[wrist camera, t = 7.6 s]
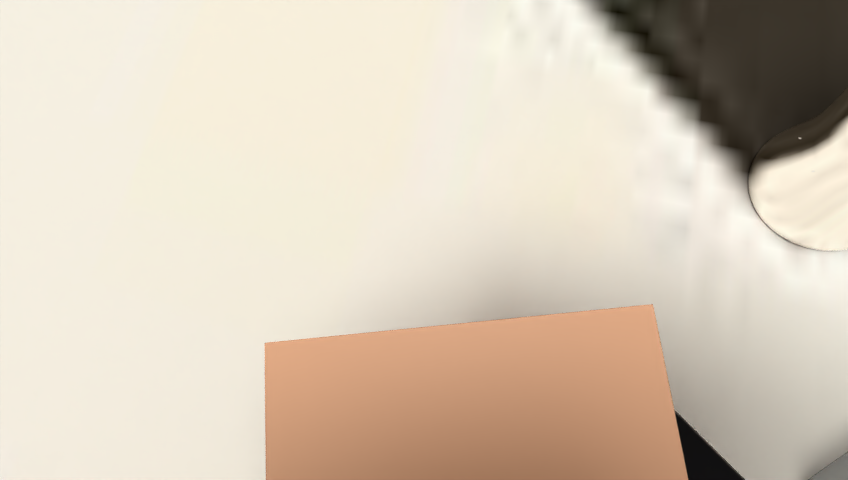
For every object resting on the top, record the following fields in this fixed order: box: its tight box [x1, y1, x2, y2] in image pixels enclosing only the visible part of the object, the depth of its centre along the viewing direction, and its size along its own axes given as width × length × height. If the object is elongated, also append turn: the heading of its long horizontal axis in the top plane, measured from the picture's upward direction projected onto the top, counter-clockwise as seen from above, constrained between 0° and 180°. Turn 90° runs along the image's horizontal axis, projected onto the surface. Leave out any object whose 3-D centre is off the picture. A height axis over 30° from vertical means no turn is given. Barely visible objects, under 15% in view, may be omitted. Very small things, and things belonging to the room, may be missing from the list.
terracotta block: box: [265, 304, 688, 480], centre depth 11 cm, size 5×5×11 cm
